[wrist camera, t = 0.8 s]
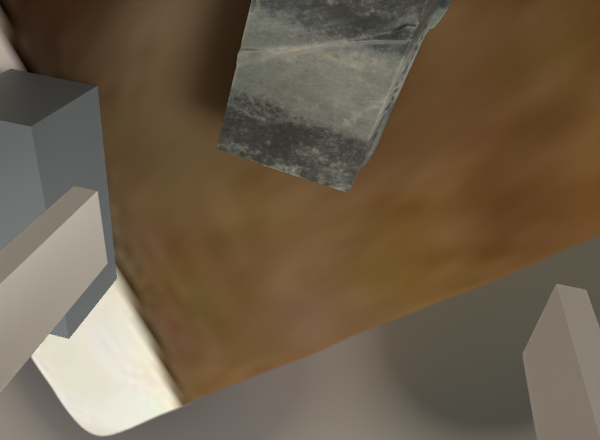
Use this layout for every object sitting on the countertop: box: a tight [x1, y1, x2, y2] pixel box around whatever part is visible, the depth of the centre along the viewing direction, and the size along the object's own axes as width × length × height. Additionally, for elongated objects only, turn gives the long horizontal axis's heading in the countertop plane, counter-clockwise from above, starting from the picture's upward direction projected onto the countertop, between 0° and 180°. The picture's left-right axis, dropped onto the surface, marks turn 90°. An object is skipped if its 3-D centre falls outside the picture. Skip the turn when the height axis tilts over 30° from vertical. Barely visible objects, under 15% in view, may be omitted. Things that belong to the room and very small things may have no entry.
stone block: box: [217, 0, 452, 193], centre depth 27 cm, size 9×14×5 cm, turn 163°
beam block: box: [0, 69, 117, 339], centre depth 36 cm, size 16×6×7 cm, turn 174°
